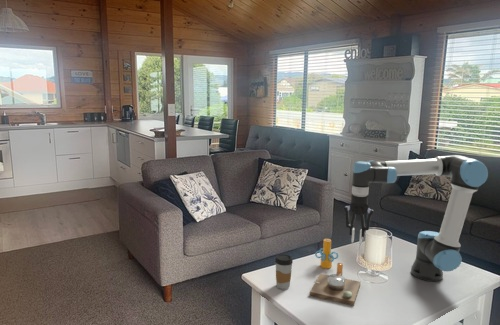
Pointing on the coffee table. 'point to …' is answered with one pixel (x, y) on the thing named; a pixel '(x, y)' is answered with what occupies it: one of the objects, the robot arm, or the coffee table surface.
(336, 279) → the knob
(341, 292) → the base
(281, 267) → the coffee cup
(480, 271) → the coffee table surface
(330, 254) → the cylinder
